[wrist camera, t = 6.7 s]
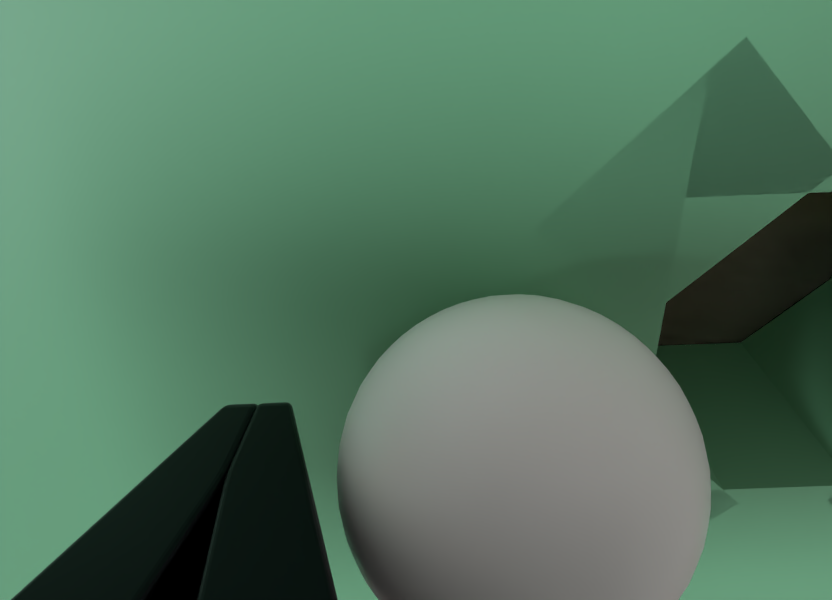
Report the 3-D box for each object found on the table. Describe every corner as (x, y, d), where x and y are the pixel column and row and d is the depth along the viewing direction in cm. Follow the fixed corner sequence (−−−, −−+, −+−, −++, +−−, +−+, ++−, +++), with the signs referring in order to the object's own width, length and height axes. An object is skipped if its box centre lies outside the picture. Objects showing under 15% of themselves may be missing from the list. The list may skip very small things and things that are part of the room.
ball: (712, 536, 9) (617, 850, 6) (454, 435, 11) (291, 635, 8) (780, 278, 7) (686, 574, 4) (446, 211, 9) (221, 375, 6)
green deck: (910, 470, 16) (1051, 626, 12) (-154, 509, 16) (-309, 673, 12) (1234, -200, 9) (1737, -270, 6) (-592, -121, 9) (-1180, -144, 6)
